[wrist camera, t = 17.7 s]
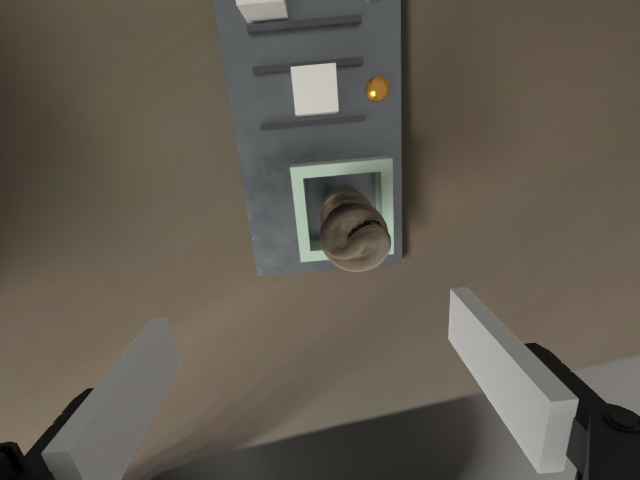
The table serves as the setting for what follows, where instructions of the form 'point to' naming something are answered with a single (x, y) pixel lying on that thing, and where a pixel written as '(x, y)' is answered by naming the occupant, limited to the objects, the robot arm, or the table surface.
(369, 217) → the light bulb
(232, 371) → the table surface
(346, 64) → the panel
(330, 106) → the block
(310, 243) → the socket
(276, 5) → the block
